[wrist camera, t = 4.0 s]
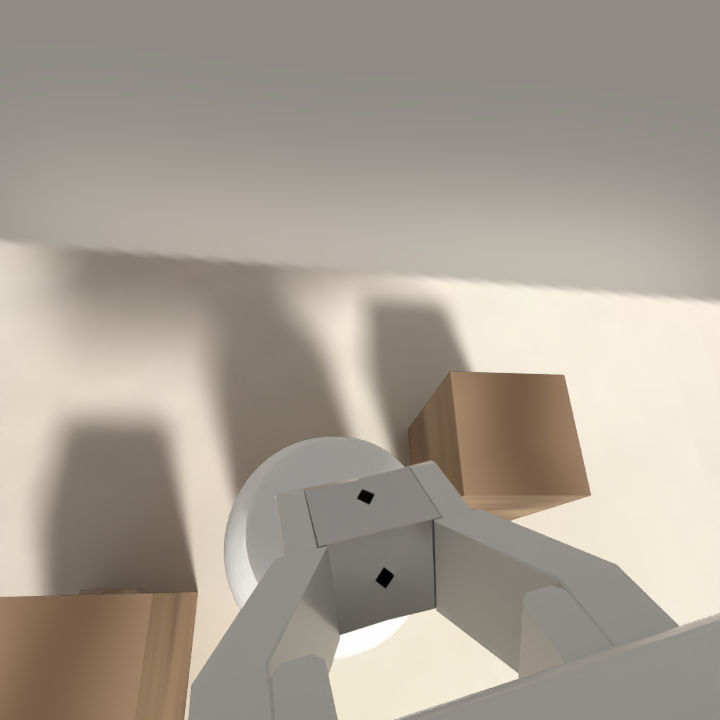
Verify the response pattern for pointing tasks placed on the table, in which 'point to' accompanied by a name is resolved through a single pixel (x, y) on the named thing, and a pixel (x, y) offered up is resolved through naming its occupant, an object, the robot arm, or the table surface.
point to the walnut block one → (96, 655)
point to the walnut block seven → (503, 441)
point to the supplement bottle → (260, 523)
